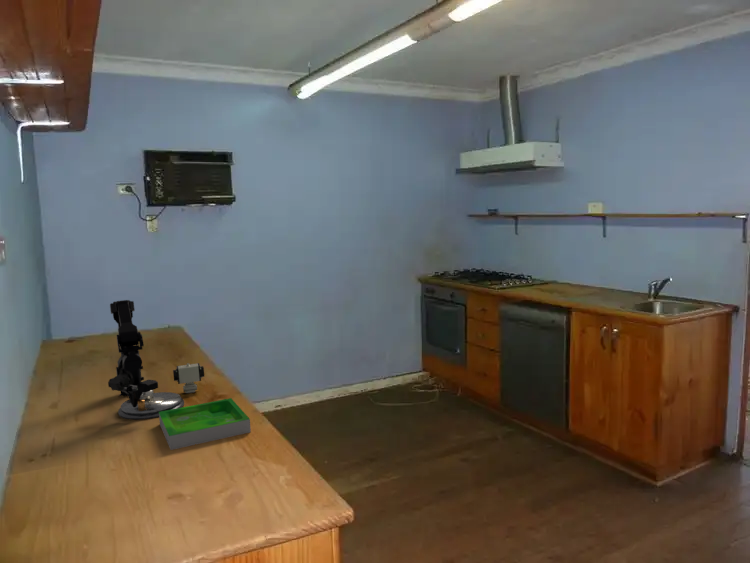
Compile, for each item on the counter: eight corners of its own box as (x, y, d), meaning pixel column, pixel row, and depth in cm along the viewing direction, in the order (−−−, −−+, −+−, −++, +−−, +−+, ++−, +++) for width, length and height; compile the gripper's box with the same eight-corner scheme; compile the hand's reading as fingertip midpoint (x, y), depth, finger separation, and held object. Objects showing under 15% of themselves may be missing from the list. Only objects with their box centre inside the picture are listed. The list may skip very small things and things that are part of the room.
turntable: (136, 419, 198) (134, 405, 198) (111, 407, 213) (110, 394, 212) (191, 402, 213) (190, 390, 213) (165, 392, 228) (163, 380, 227)
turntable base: (106, 420, 202) (106, 417, 202) (135, 399, 225) (135, 396, 225) (170, 418, 202) (169, 415, 201) (192, 397, 224) (192, 394, 224)
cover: (141, 401, 213) (140, 391, 212) (134, 398, 217) (133, 389, 216) (156, 397, 217) (155, 387, 217) (149, 394, 221) (148, 385, 221)
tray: (170, 451, 174) (169, 435, 174) (159, 425, 196) (158, 411, 196) (250, 433, 186) (249, 418, 185) (232, 411, 208) (231, 398, 207)
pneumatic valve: (205, 391, 231) (203, 362, 229) (175, 395, 227) (172, 366, 225) (204, 387, 236) (202, 359, 234) (175, 392, 232) (172, 363, 230)
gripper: (93, 368, 199) (97, 411, 201) (132, 373, 191) (136, 417, 193) (119, 360, 209) (123, 401, 211) (157, 364, 201) (160, 407, 203)
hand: (134, 406), depth 204 cm, fingers closed
